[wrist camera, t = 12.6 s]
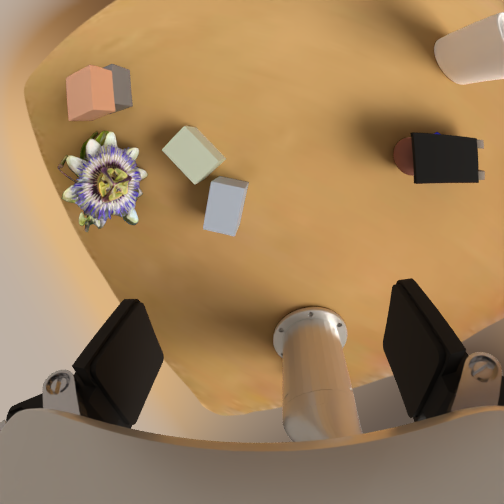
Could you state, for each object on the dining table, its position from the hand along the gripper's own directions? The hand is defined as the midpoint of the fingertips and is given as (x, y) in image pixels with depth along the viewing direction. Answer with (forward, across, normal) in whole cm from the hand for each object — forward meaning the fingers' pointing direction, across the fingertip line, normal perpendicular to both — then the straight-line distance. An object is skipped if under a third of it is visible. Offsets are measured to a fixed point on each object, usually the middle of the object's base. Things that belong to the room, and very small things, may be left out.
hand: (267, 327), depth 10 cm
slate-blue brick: (+28, +6, +1) cm, 29 cm away
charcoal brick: (+28, +20, -18) cm, 39 cm away
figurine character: (+29, -24, -4) cm, 38 cm away
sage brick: (+28, +9, -6) cm, 30 cm away
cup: (+28, -31, -20) cm, 47 cm away
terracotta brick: (+23, +20, -17) cm, 35 cm away
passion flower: (+29, +22, -5) cm, 37 cm away
